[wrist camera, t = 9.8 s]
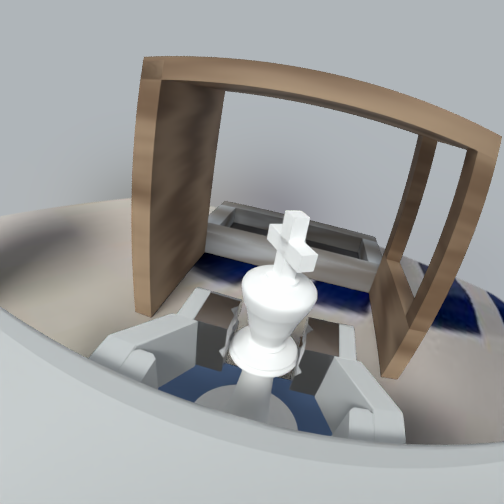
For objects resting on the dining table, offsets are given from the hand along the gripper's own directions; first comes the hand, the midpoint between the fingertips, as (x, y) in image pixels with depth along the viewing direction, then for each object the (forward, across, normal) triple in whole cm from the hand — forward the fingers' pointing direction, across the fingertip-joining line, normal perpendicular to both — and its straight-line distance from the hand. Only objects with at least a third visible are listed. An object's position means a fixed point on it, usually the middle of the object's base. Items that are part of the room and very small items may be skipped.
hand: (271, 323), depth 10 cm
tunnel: (+15, 0, +7) cm, 17 cm away
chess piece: (-1, 0, +6) cm, 6 cm away
